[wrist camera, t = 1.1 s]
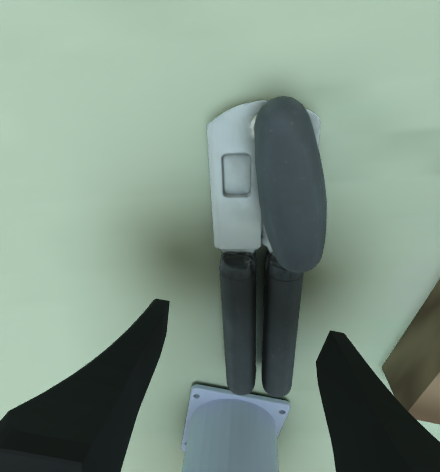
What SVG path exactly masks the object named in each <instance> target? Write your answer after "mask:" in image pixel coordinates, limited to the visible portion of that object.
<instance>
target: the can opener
mask: <svg viewBox="0 0 440 472" xmlns="http://www.w3.org/2000/svg"><path fill="white" fill-rule="evenodd" d="M319 137H320V119H319V117H318V116H317V115H316V114H315V113H313V112H311V111H310V110H308V109H305V108H304V106H303V105H302V104H301V103H300V102H298V101H297V100H295V99H294V98H291V97H286V96H281V97H277V98H274V99H271V100H270V101H267V100H264V99H262V100H258V101H254V102H248V103H244V104H241V105H238V106H236V107H233V108H231V109H229V110H227V111H225V112H224V113H222V114H221V115H219V116H217V117H216V118H215V119H214V120H213V121H212V122H210V123H209V124H208V125H207V139H208V157H209V172H210V188H211V201H212V216H213V232H214V246H215V247H216V248H218V249H220V250H221V251H222V256H221V262H220V281H221V299H222V315H223V329H224V346H225V362H226V378H227V385H228V388H229V389H230V391H232V392H233V393H234V394H237V395H247V394H249V393H250V392H251V391H252V390H253V388H254V385H255V379H256V255H255V250H257V249H258V248H260V247H261V243H262V244H263V245H264V246H266V247H267V249H268V250H267V255H266V265H265V266H266V268H265V299H264V323H263V346H262V384H263V388H264V390H265V391H266V392H267V393H268V394H269V395H271V396H273V397H283V396H285V395H287V394H288V393H289V391H290V389H291V386H292V376H293V366H294V357H295V347H296V337H297V327H298V318H299V308H300V299H301V289H302V280H303V272H306V271H308V270H311V269H312V268H314V267H315V266H316V265H317V264H318V263H319V261H320V259H321V257H322V253H323V248H324V243H325V234H326V209H327V201H326V191H325V182H324V175H323V170H322V164H321V159H320V154H319V150H318V146H319Z"/></svg>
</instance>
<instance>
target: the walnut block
mask: <svg viewBox="0 0 440 472" xmlns="http://www.w3.org/2000/svg"><path fill="white" fill-rule="evenodd" d="M382 370H383V372H384V374H385V376H386V379H387V381H388V383H389V385H390V387H391V390H392V392H393V394H394V396H395V398H396V399H397V400H398V401H399V402H400V403H401V404H402V406H403V407H404V408H405V409H406V410H407V411H408V412H409V413H410V414H411V415H412V416H413V417H414V418H415V419H416V420H421V421H426V422H431V423H436V424H440V280H439V281H438V283H437V284H436V286H435V287H434V289H433V290H432V292H431V293H430V295H429V296H428V298H427V299H426V301H425V302H424V304H423V306H422V307H421V309H420V310H419V312H418V313H417V315H416V316H415V318H414V319H413V321H412V322H411V324H410V325H409V327H408V328H407V330H406V331H405V333H404V334H403V336H402V337H401V339H400V340H399V342H398V344H397V345H396V347H395V348H394V350H393V351H392V353H391V354H390V356H389V357H388V359H387V360H386V362H385V363H384V365H383V366H382Z"/></svg>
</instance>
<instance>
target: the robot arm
mask: <svg viewBox="0 0 440 472" xmlns="http://www.w3.org/2000/svg"><path fill="white" fill-rule="evenodd" d="M169 302H170V301H166V300H160V299H155V300H153V302H152V303H151V304H150V305H149V307H148V308H147V309H146V310H145V311H144V313H143V314H142V315H141V316H140V317H139V318H138V319H137V320H136V321H135V322H134V323H133V325H132V326H131V327H130V328H129V329H128V330H127V331H126V332H125V333H124V334H123V335H121V336H120V337H119V338H118V339H117V340H116V341H115V342H114V343H113V344H112V345H111V346H109V347H108V348H107V349H106V350H105V351H104V352H102V353H101V354H100V355H99V356H97V357H96V358H95V359H94V360H92V361H91V362H90V363H88V364H87V365H85V366H84V367H83V368H81V369H80V370H78V371H77V372H76V373H74V374H73V375H71V376H70V377H68V378H67V379H65V380H63V381H62V382H60V383H58V384H57V385H55V386H54V387H52V388H50V389H49V390H47V391H45V392H44V393H42V394H40V395H38V396H36V397H34V398H33V399H31V400H29V401H27V402H25V403H23V404H21V405H19V406H17V407H16V408H14V409H12V410H10V411H8V413H7V414H6V415H5V416H4V417H3V418H2V419H1V421H0V472H121V468H122V465H123V461H124V458H125V454H126V451H127V448H128V444H129V441H130V437H131V434H132V431H133V427H134V424H135V421H136V417H137V414H138V411H139V409H140V406H141V403H142V401H143V398H144V396H145V393H146V391H147V388H148V386H149V383H150V381H151V378H152V376H153V373H154V371H155V368H156V366H157V363H158V360H159V358H160V355H161V352H162V348H163V344H164V341H165V337H166V332H167V322H168V312H169ZM316 368H317V378H318V386H319V390H320V395H321V399H322V404H323V408H324V412H325V416H326V421H327V425H328V429H329V433H330V437H331V442H332V447H333V453H334V460H335V467H336V472H440V442H439V441H438V440H437V439H436V438H435V437H434V436H433V435H431V434H430V433H429V432H428V431H427V430H426V429H425V428H424V427H423V426H422V425H421V424H420V423H419V422H418V421H417V420H416V419H415V418H414V417H413V416H412V415H411V414H410V413H409V412H408V411H407V410H406V409H405V408H404V407H403V406H402V404H401V403H400V402H399V401H398V400H397V399H396V398H395V397H394V396H393V394H392V393H391V392H390V391H389V390H388V389H387V388H386V386H385V385H384V384H383V383H382V382H381V380H380V379H379V378H378V377H377V375H376V374H375V373H374V372H373V370H372V369H371V368H370V367H369V365H368V364H367V363H366V361H365V360H364V359H363V358H362V356H361V355H360V354H359V352H358V351H357V350H356V348H355V347H354V346H353V344H352V343H351V342H350V340H349V339H348V338H347V336H346V335H345V334H344V333H341V332H335V331H330V332H329V334H328V336H327V339H326V341H325V343H324V345H323V347H322V350H321V352H320V354H319V356H318V358H317V361H316ZM289 410H290V403H289V402H288V401H285V400H280V399H275V398H269V397H264V396H259V395H253V394H247V395H237V394H234V393H233V392H232V391H230V390H226V389H221V388H215V387H210V386H205V385H199V384H196V385H193V386H192V389H191V394H190V400H189V406H188V411H187V417H186V423H185V428H184V434H183V440H182V445H181V450H182V451H183V452H185V456H184V462H183V467H182V472H279V466H278V452H277V438H278V435H279V433H280V431H281V429H282V426H283V424H284V422H285V419H286V417H287V415H288V413H289Z"/></svg>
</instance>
